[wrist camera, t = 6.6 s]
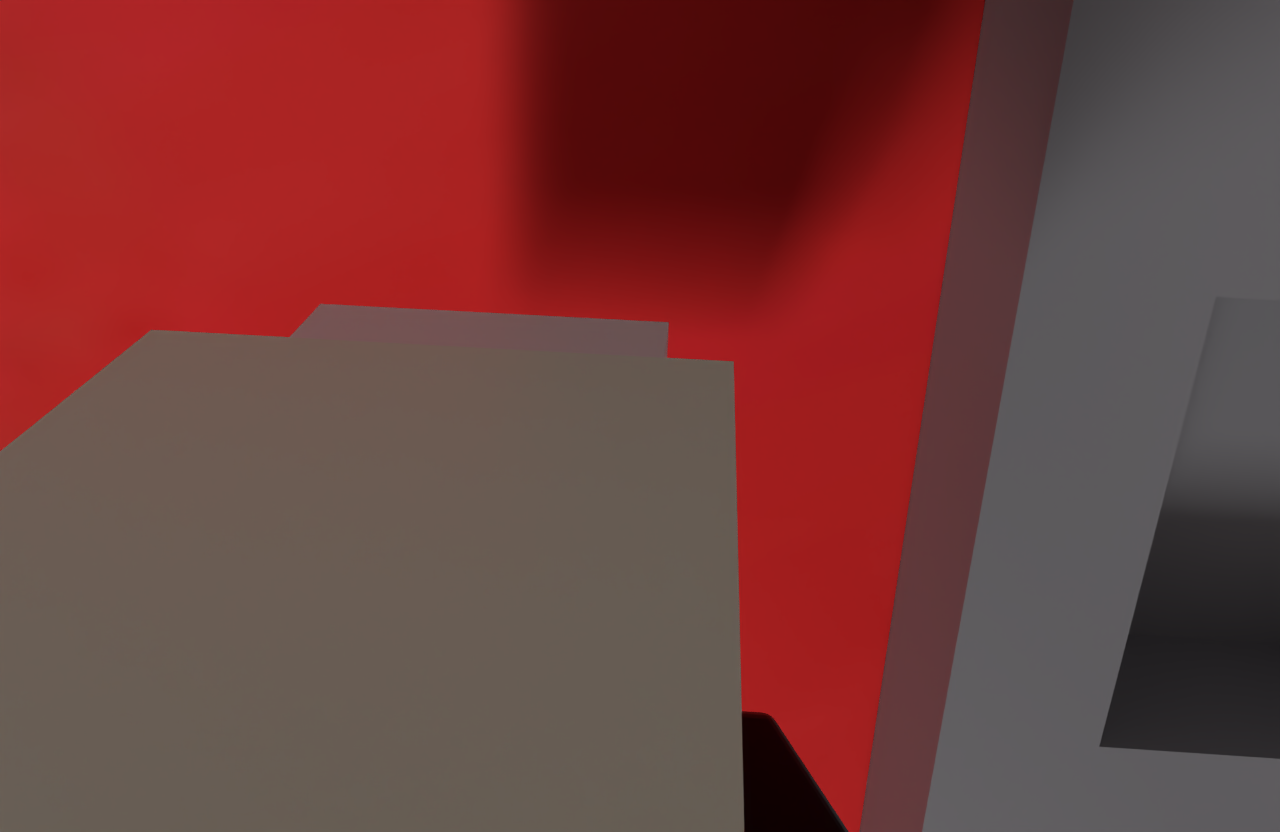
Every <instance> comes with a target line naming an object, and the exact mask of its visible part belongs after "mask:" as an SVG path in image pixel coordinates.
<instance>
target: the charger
mask: <svg viewBox="0 0 1280 832" xmlns="http://www.w3.org/2000/svg"><path fill="white" fill-rule="evenodd" d="M668 326H669V322H651V321H632V320H614V319H595V318H576V317H557V316H538V315H519V314H500V313H481V312H463V311H444V310H425V309H406V308H387V307H368V306H349V305H330V304H320V305H319V306H318V307H317V308H316V309H315V310H314V311H313V313H312V314H311V315H310V316H309V317H308V318H307V319H306V320H305V321H304V322H303V323H302V324H301V325H300V327H299V328H298V329H297V330H296V331H295V332H294V333H293V334H292V335H291V336H290V337H273V336H255V335H236V334H218V333H200V332H181V331H163V330H151V331H149V332H148V333H147V334H146V335H144V336H143V337H142V338H141V339H139V340H138V341H137V342H136V343H134V344H133V345H132V346H131V347H130V348H128V349H127V350H126V351H125V352H123V353H122V354H121V355H120V356H118V357H117V358H116V359H115V360H113V361H112V362H111V363H110V364H108V365H107V366H106V367H105V368H103V369H102V370H101V371H100V372H98V373H97V374H96V375H95V376H94V377H92V378H91V379H90V380H89V381H87V382H86V383H85V384H84V385H82V386H81V387H80V388H79V389H77V390H76V391H75V392H74V393H72V394H71V395H70V396H69V397H67V398H66V399H65V400H64V401H62V402H61V403H60V404H59V405H57V406H56V407H55V408H54V409H53V410H51V411H50V412H49V413H48V414H46V415H45V416H44V417H43V418H41V419H40V420H39V421H38V422H36V423H35V424H34V425H33V426H31V427H30V428H29V429H28V430H26V431H25V432H24V433H23V434H21V435H20V436H19V437H18V438H17V439H15V440H14V441H13V442H12V443H10V444H9V445H8V446H7V447H5V448H4V449H3V450H2V451H0V832H744V796H743V752H742V708H741V664H740V620H739V576H738V532H737V488H736V444H735V400H734V362H733V361H715V360H696V359H678V358H667V348H668Z"/></svg>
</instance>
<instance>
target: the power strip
mask: <svg viewBox="0 0 1280 832" xmlns="http://www.w3.org/2000/svg"><path fill="white" fill-rule="evenodd" d="M860 832H1280V0H985V6H984V12H983V19H982V25H981V32H980V39H979V45H978V52H977V58H976V65H975V72H974V78H973V85H972V91H971V98H970V105H969V111H968V118H967V125H966V131H965V138H964V144H963V151H962V158H961V164H960V171H959V177H958V184H957V191H956V197H955V204H954V210H953V217H952V224H951V230H950V237H949V243H948V250H947V257H946V263H945V270H944V277H943V283H942V290H941V296H940V303H939V310H938V316H937V323H936V329H935V336H934V343H933V349H932V356H931V362H930V369H929V376H928V382H927V389H926V395H925V402H924V409H923V415H922V422H921V429H920V435H919V442H918V448H917V455H916V462H915V468H914V475H913V481H912V488H911V495H910V501H909V508H908V514H907V521H906V528H905V534H904V541H903V548H902V554H901V561H900V567H899V574H898V581H897V587H896V594H895V600H894V607H893V614H892V620H891V627H890V633H889V640H888V647H887V653H886V660H885V666H884V673H883V680H882V686H881V693H880V700H879V706H878V713H877V719H876V726H875V733H874V739H873V746H872V752H871V759H870V766H869V772H868V779H867V785H866V792H865V799H864V805H863V812H862V819H861V825H860Z"/></svg>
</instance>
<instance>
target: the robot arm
mask: <svg viewBox="0 0 1280 832" xmlns="http://www.w3.org/2000/svg"><path fill="white" fill-rule="evenodd" d="M742 752H743V796H744V832H848V830H847V829H846V827H845V826H844V824H843V823H842V821H841V820H840V818H839V817H838V815H837V814H836V812H835V811H834V809H833V808H832V806H831V805H830V803H829V802H828V800H827V799H826V797H825V796H824V794H823V792H822V791H821V789H820V788H819V786H818V785H817V783H816V782H815V780H814V779H813V777H812V776H811V774H810V773H809V771H808V770H807V768H806V767H805V765H804V764H803V762H802V761H801V759H800V758H799V756H798V755H797V753H796V752H795V750H794V749H793V747H792V745H791V744H790V742H789V741H788V739H787V738H786V736H785V735H784V733H783V732H782V730H781V729H780V727H779V726H778V724H777V723H776V721H775V720H774V719H773V718H772V717H771V716H770V715H768V714H765V713H760V712H745V711H742Z"/></svg>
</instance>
